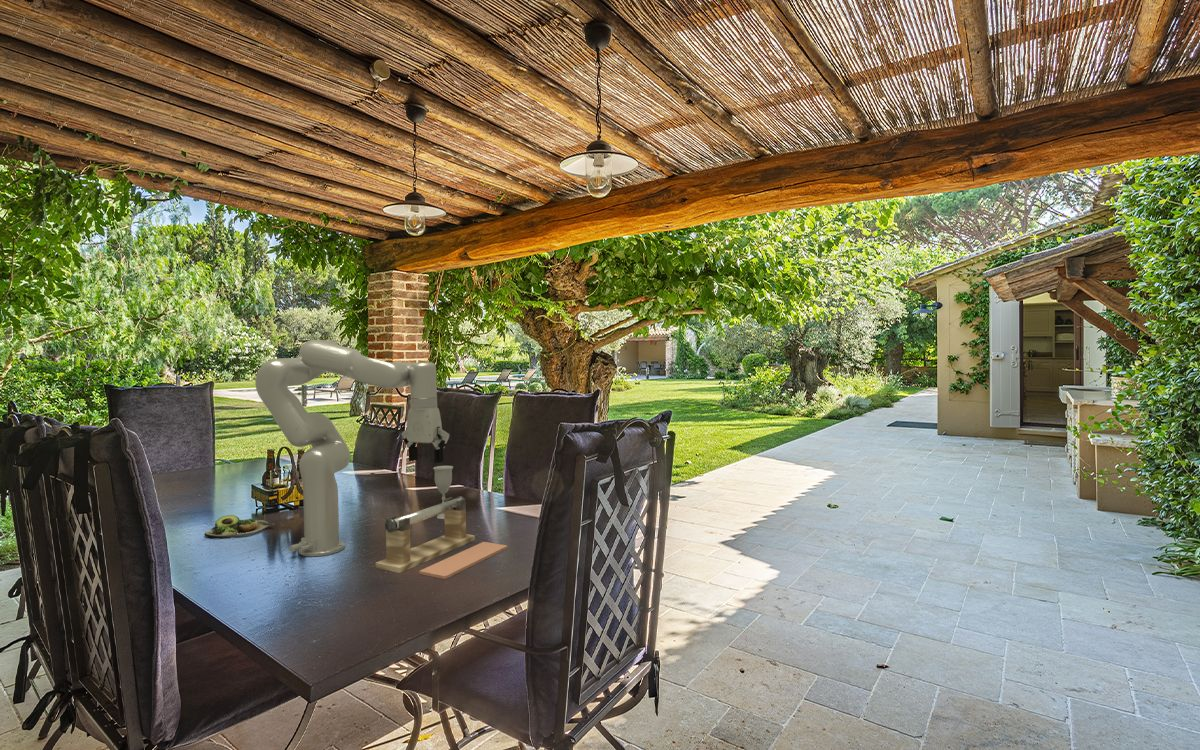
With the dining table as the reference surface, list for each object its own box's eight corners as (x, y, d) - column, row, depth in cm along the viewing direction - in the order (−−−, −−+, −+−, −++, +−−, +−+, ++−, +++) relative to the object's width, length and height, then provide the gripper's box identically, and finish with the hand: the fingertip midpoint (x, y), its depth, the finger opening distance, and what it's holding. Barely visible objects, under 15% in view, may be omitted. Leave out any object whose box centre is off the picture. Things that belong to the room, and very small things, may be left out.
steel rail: (394, 533, 164) (394, 520, 164) (384, 531, 166) (384, 518, 166) (465, 508, 191) (465, 496, 191) (456, 506, 193) (456, 495, 193)
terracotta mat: (445, 579, 158) (445, 576, 158) (419, 573, 162) (419, 570, 162) (507, 548, 183) (507, 545, 183) (483, 544, 187) (483, 541, 187)
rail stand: (399, 573, 163) (399, 523, 162) (375, 568, 167) (374, 519, 166) (474, 540, 191) (474, 498, 191) (452, 536, 195) (452, 495, 195)
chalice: (446, 513, 224) (445, 465, 223) (457, 516, 219) (457, 467, 219) (429, 517, 218) (429, 467, 217) (441, 520, 214) (440, 470, 213)
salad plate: (283, 522, 213) (283, 509, 213) (262, 538, 195) (262, 524, 195) (224, 525, 210) (224, 512, 210) (198, 541, 193) (197, 526, 193)
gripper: (392, 404, 179) (394, 461, 180) (438, 405, 172) (440, 465, 172) (410, 402, 186) (412, 457, 186) (455, 403, 178) (457, 460, 179)
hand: (426, 461), depth 179 cm, fingers open, 9 cm apart
